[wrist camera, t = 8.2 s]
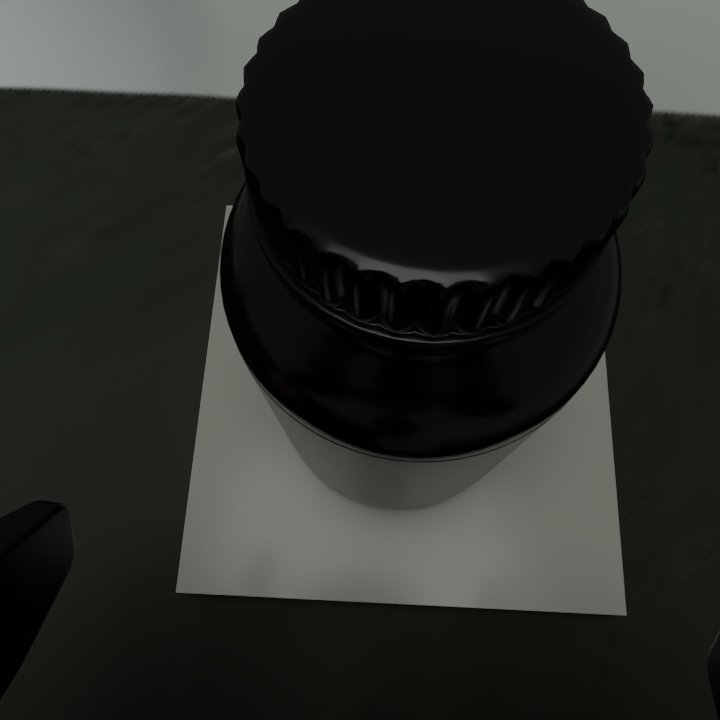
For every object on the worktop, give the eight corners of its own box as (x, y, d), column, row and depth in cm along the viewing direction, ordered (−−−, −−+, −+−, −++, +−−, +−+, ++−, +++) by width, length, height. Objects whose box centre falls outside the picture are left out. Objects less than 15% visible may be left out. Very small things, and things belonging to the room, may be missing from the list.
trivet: (612, 612, 17) (626, 615, 16) (186, 590, 18) (175, 592, 17) (583, 231, 21) (593, 216, 20) (233, 221, 21) (226, 205, 20)
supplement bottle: (536, 494, 17) (852, 360, 6) (293, 524, 17) (133, 444, 6) (491, 274, 19) (659, -138, 8) (275, 298, 19) (133, -83, 8)
